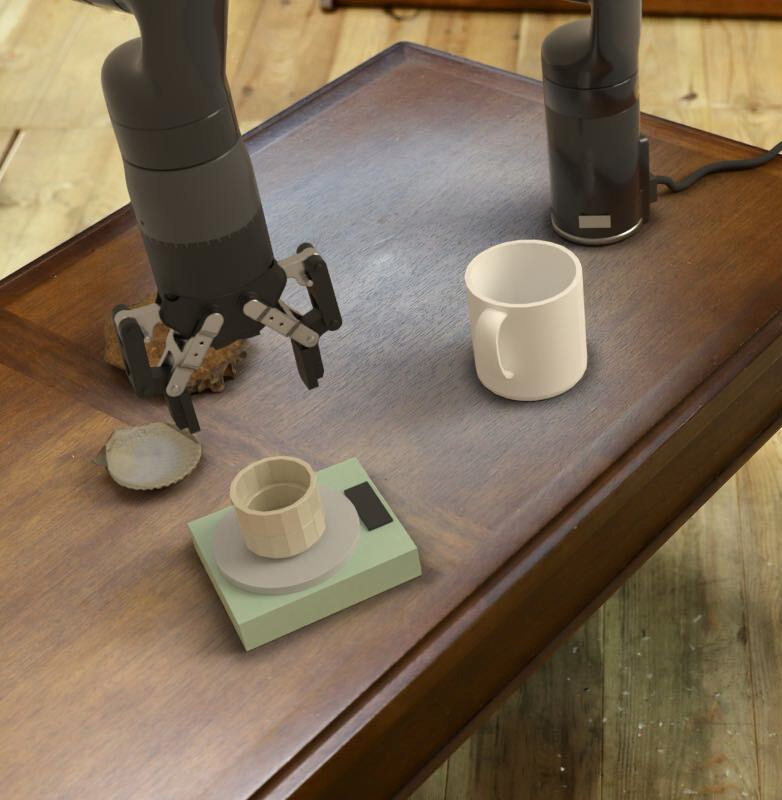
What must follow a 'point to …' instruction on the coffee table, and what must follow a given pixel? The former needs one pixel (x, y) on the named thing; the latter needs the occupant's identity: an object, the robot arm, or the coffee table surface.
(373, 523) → the kitchen scale
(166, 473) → the seashell
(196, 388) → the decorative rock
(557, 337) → the mug
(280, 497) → the beige faceted cup
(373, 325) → the coffee table surface
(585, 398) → the coffee table surface
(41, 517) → the coffee table surface
